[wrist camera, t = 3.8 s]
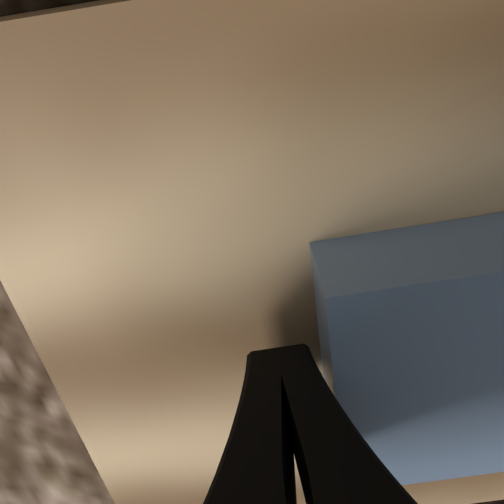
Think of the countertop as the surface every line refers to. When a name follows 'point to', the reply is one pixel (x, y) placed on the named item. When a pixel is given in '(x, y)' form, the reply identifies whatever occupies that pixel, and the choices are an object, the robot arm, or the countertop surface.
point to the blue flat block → (418, 343)
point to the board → (222, 196)
